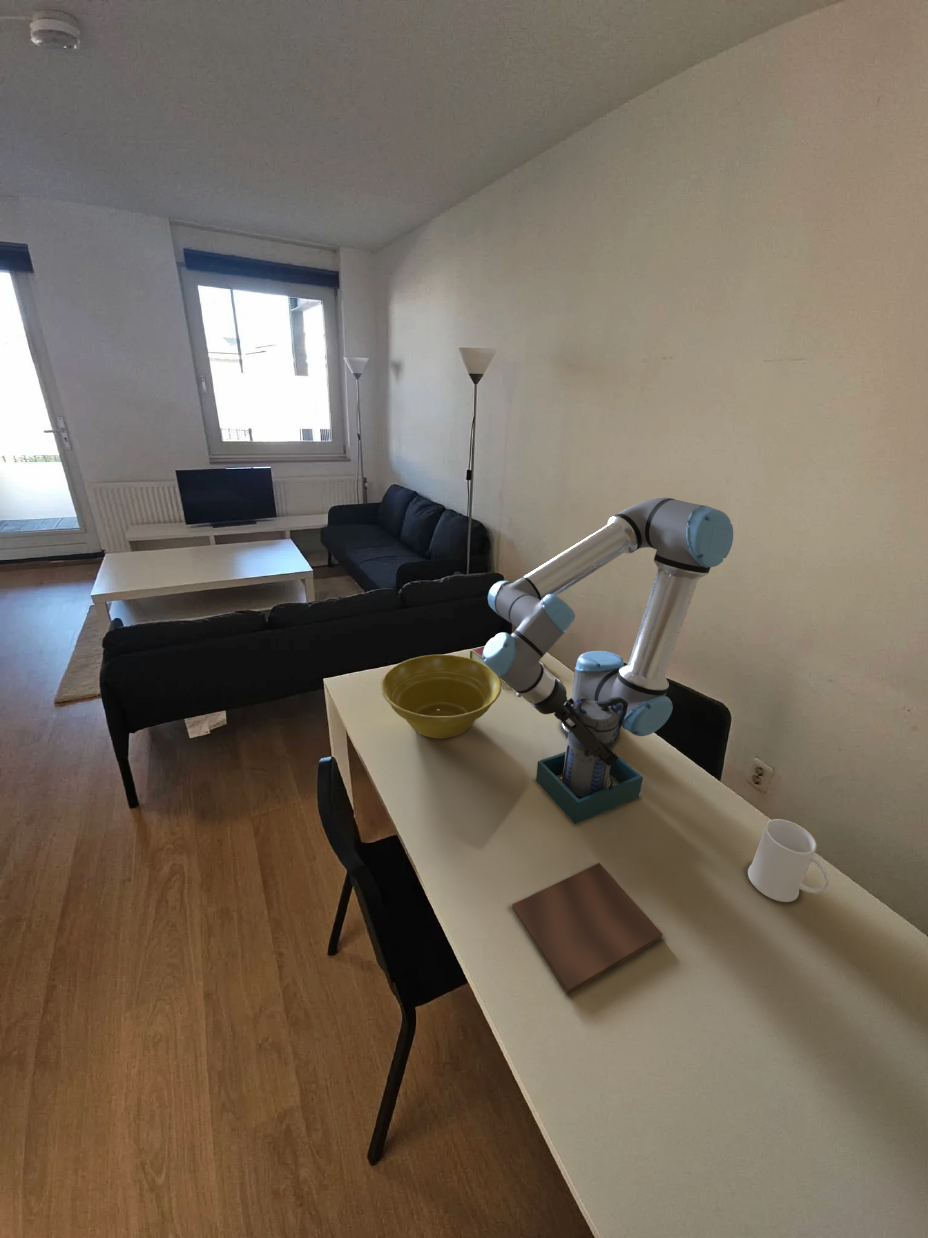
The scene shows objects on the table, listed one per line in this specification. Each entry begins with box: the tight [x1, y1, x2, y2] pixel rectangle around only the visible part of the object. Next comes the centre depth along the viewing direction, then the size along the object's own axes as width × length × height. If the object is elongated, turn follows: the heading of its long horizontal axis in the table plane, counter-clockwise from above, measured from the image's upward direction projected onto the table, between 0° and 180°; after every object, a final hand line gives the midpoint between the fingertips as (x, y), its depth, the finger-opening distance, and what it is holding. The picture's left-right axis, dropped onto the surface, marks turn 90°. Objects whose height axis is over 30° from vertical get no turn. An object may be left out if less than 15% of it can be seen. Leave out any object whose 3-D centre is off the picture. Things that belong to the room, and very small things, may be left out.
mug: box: [747, 818, 830, 903], centre depth 93 cm, size 12×8×12 cm
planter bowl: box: [380, 654, 502, 739], centre depth 138 cm, size 32×32×13 cm
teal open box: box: [535, 751, 644, 825], centre depth 117 cm, size 19×15×9 cm
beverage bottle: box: [561, 697, 628, 799], centre depth 113 cm, size 10×13×25 cm
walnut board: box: [511, 862, 664, 996], centre depth 88 cm, size 20×16×1 cm
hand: (598, 741), depth 113 cm, fingers open, 13 cm apart
